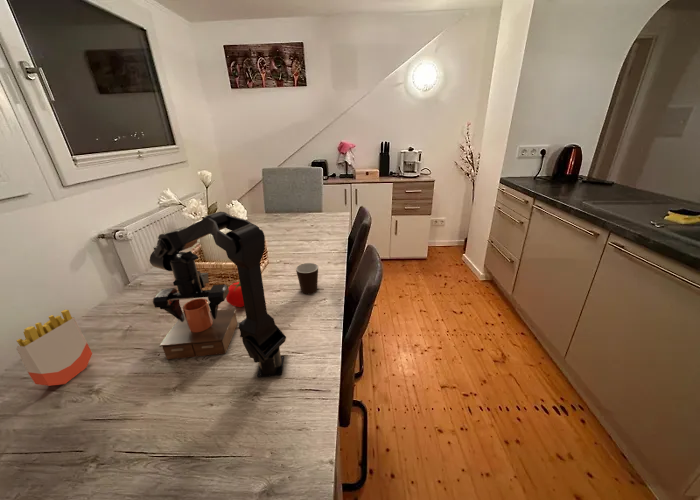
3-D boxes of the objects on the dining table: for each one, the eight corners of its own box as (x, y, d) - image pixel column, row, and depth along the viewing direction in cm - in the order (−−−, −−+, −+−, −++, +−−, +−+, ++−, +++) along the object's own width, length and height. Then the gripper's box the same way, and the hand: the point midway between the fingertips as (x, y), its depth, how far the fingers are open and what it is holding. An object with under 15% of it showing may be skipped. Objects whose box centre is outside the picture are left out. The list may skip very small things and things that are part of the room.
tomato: (224, 303, 105) (220, 283, 101) (251, 293, 111) (247, 274, 107) (233, 314, 98) (228, 294, 95) (261, 303, 104) (257, 283, 101)
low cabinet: (226, 355, 80) (222, 340, 78) (164, 361, 78) (158, 346, 76) (239, 322, 94) (236, 308, 92) (186, 327, 92) (182, 313, 90)
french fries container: (38, 390, 71) (1, 333, 63) (82, 358, 80) (54, 306, 73) (53, 392, 70) (17, 335, 63) (96, 360, 80) (69, 307, 73)
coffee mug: (316, 296, 107) (314, 273, 103) (295, 294, 109) (292, 272, 105) (324, 281, 118) (323, 260, 114) (305, 280, 119) (303, 259, 115)
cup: (208, 331, 82) (202, 309, 79) (185, 333, 81) (178, 312, 78) (215, 317, 88) (210, 297, 85) (194, 319, 87) (188, 299, 84)
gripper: (228, 258, 85) (238, 301, 92) (164, 263, 84) (178, 306, 90) (217, 276, 75) (228, 323, 82) (143, 281, 73) (161, 329, 80)
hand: (199, 319), depth 83 cm, fingers open, 9 cm apart
